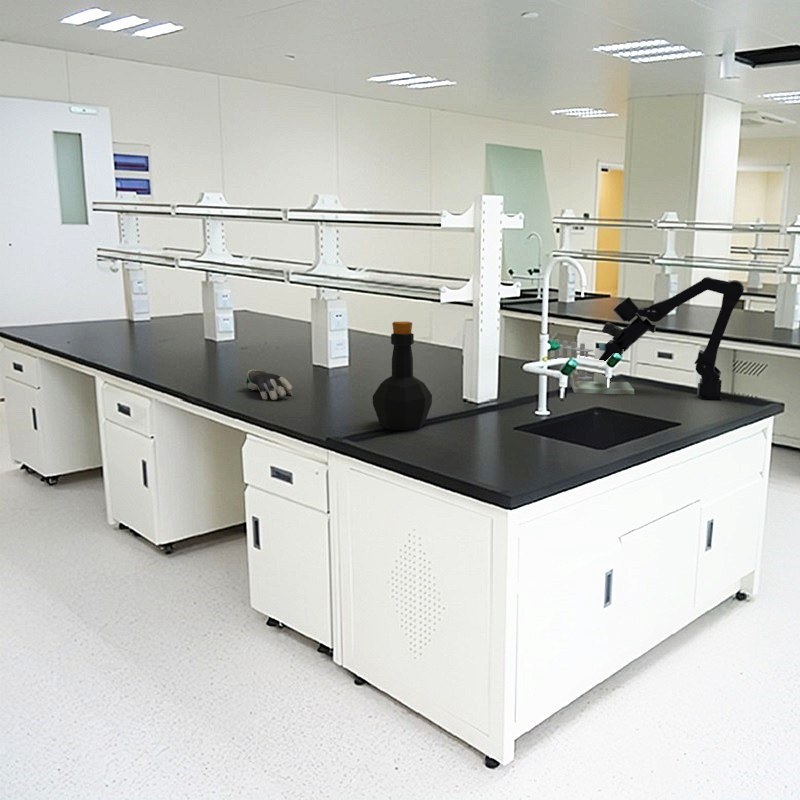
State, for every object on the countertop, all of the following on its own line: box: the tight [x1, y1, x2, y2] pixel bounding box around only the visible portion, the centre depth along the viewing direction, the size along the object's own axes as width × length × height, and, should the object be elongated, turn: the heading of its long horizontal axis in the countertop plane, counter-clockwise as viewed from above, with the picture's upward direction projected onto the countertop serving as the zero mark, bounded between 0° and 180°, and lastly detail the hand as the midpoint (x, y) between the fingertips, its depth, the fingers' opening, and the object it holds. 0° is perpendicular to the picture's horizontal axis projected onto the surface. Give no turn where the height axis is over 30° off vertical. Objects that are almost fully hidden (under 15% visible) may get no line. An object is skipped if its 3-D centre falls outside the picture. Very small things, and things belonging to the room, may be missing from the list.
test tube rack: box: [538, 337, 594, 381], centre depth 314 cm, size 25×4×13 cm, turn 34°
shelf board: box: [570, 369, 635, 395], centre depth 286 cm, size 20×14×6 cm
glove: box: [246, 369, 294, 401], centre depth 279 cm, size 12×10×25 cm
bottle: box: [372, 321, 433, 431], centre depth 233 cm, size 16×16×30 cm
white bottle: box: [593, 342, 612, 383], centre depth 285 cm, size 6×6×13 cm
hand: (599, 362), depth 285 cm, fingers closed on white bottle, 6 cm apart
